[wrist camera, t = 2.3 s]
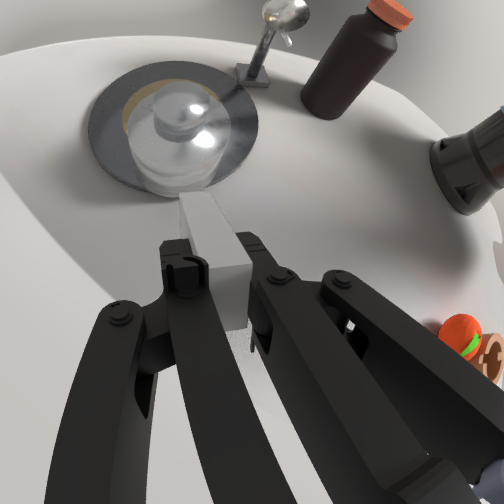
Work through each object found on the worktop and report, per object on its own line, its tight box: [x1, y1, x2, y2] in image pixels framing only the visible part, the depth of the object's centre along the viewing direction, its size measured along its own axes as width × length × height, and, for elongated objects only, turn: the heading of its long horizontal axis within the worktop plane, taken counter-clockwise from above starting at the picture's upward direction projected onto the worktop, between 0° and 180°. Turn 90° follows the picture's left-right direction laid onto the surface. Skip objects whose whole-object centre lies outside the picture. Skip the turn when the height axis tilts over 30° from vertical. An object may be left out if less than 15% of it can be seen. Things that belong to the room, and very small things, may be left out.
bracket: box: [468, 333, 504, 384], centre depth 32 cm, size 18×8×7 cm, turn 82°
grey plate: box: [88, 61, 258, 193], centre depth 30 cm, size 20×20×1 cm
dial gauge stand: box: [235, 0, 310, 88], centre depth 28 cm, size 5×8×16 cm, turn 10°
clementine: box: [438, 314, 482, 361], centre depth 30 cm, size 8×7×7 cm
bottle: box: [301, 0, 413, 120], centre depth 28 cm, size 7×7×20 cm
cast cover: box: [127, 81, 231, 198], centre depth 24 cm, size 9×9×9 cm
